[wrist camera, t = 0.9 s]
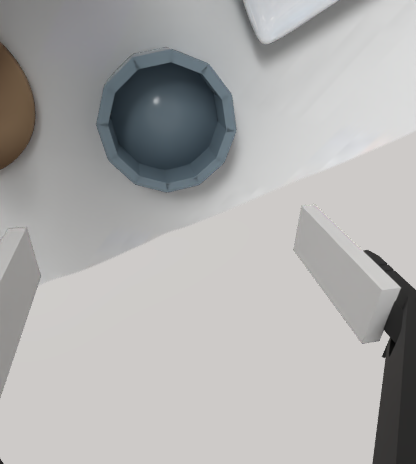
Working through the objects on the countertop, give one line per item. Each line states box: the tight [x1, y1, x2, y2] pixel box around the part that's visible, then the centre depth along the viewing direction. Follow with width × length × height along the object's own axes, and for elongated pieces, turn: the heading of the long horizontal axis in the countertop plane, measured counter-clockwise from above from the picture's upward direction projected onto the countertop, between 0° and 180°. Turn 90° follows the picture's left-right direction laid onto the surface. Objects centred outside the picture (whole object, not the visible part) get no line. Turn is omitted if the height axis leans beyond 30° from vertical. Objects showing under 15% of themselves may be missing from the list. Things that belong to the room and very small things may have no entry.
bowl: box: [96, 47, 236, 192], centre depth 35 cm, size 13×13×5 cm
